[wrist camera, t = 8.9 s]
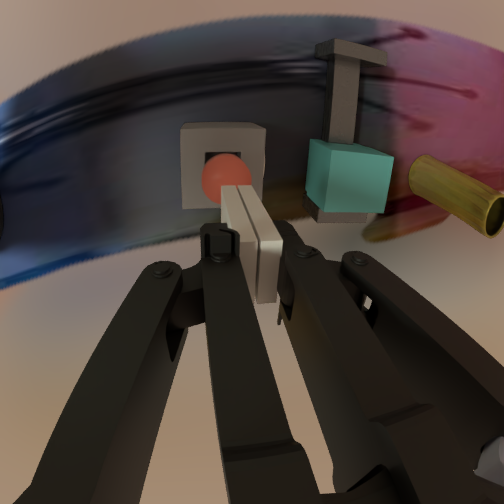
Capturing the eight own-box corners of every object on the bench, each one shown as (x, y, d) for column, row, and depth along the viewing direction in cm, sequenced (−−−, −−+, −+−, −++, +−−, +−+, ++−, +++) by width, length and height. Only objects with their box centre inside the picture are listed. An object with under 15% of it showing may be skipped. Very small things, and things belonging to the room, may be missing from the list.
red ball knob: (201, 185, 26) (201, 205, 22) (201, 146, 24) (201, 157, 20) (241, 184, 27) (250, 204, 22) (242, 145, 25) (252, 157, 20)
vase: (416, 203, 38) (485, 252, 25) (401, 171, 35) (478, 214, 22) (442, 178, 36) (513, 219, 24) (429, 146, 33) (508, 179, 21)
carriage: (353, 191, 35) (383, 212, 29) (300, 189, 34) (323, 212, 28) (360, 143, 32) (393, 157, 26) (305, 138, 31) (331, 150, 25)
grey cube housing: (185, 186, 31) (182, 209, 25) (184, 122, 28) (180, 129, 22) (251, 184, 33) (264, 206, 27) (254, 122, 29) (269, 129, 23)
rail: (346, 206, 36) (365, 222, 32) (302, 205, 35) (317, 223, 31) (363, 55, 27) (387, 52, 22) (315, 45, 26) (334, 38, 21)
